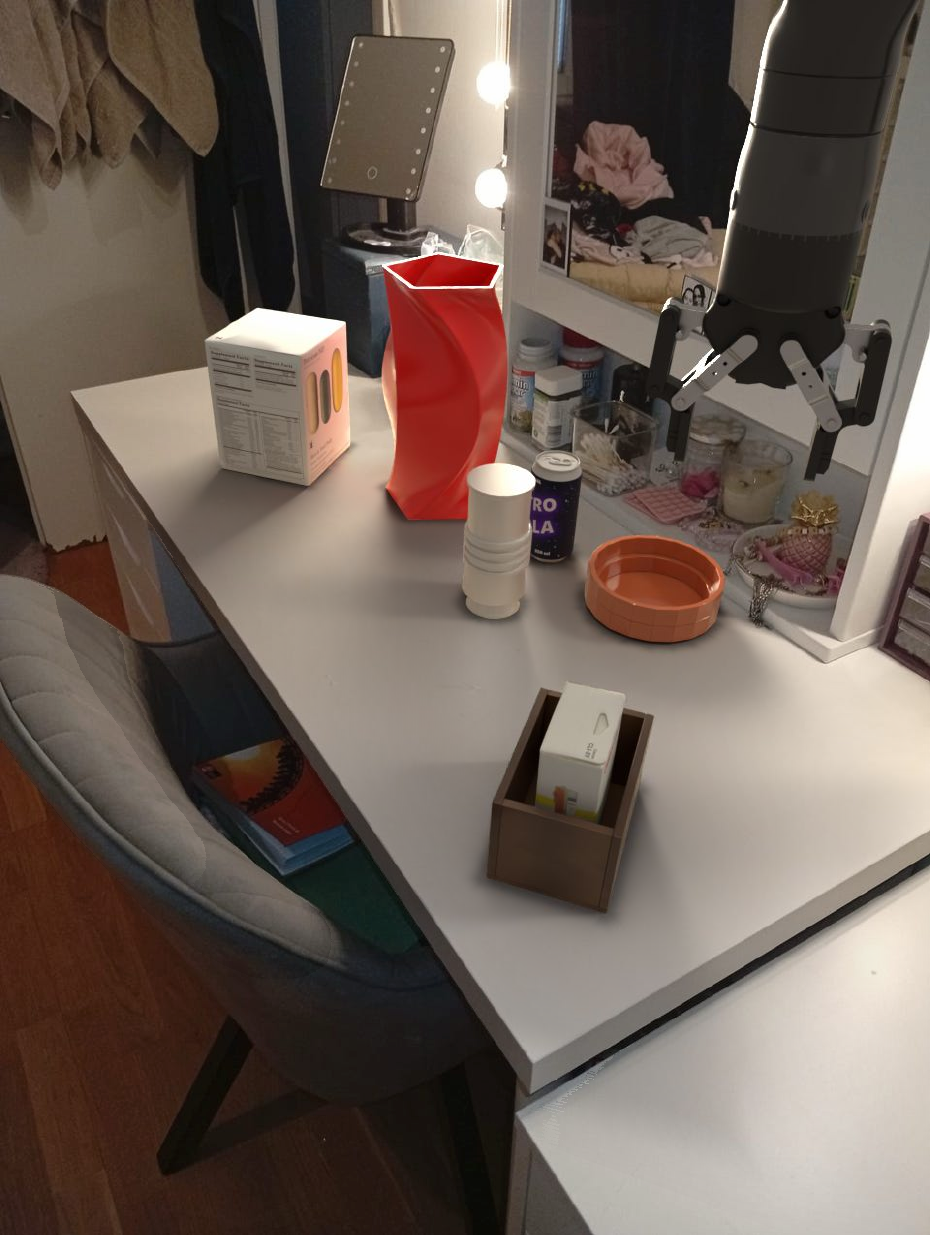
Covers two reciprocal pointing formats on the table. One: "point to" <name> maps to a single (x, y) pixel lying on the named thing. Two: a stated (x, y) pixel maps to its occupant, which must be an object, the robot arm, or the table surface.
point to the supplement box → (280, 394)
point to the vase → (442, 379)
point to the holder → (564, 818)
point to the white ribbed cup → (497, 539)
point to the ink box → (579, 752)
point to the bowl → (653, 588)
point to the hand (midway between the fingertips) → (742, 466)
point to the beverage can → (554, 504)
